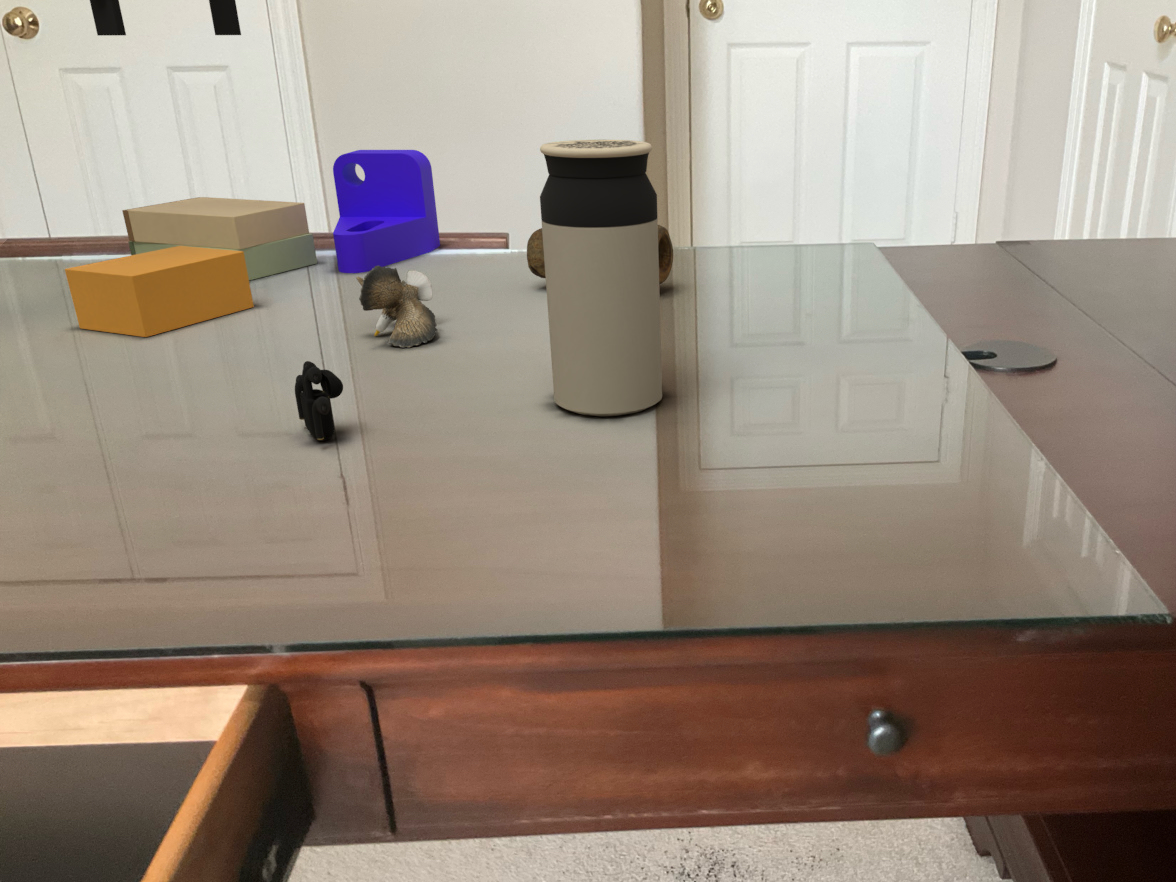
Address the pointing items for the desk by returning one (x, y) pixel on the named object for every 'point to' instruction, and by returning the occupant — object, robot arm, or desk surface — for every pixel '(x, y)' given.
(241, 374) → the desk surface
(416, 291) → the eagle figurine
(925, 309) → the desk surface
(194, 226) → the beige and green block
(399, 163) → the bracket
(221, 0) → the robot arm
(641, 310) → the travel mug
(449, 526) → the desk surface
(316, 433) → the wireless earbuds
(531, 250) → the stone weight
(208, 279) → the orange block
